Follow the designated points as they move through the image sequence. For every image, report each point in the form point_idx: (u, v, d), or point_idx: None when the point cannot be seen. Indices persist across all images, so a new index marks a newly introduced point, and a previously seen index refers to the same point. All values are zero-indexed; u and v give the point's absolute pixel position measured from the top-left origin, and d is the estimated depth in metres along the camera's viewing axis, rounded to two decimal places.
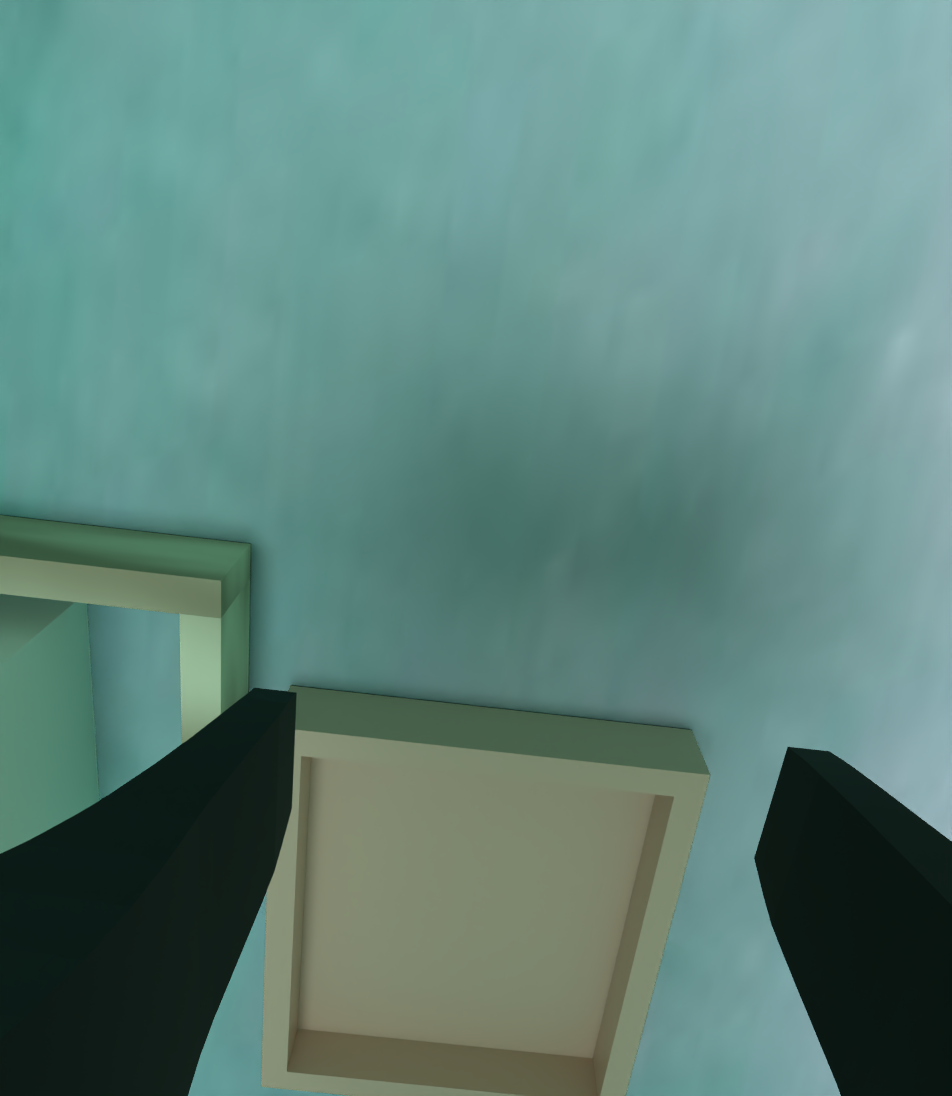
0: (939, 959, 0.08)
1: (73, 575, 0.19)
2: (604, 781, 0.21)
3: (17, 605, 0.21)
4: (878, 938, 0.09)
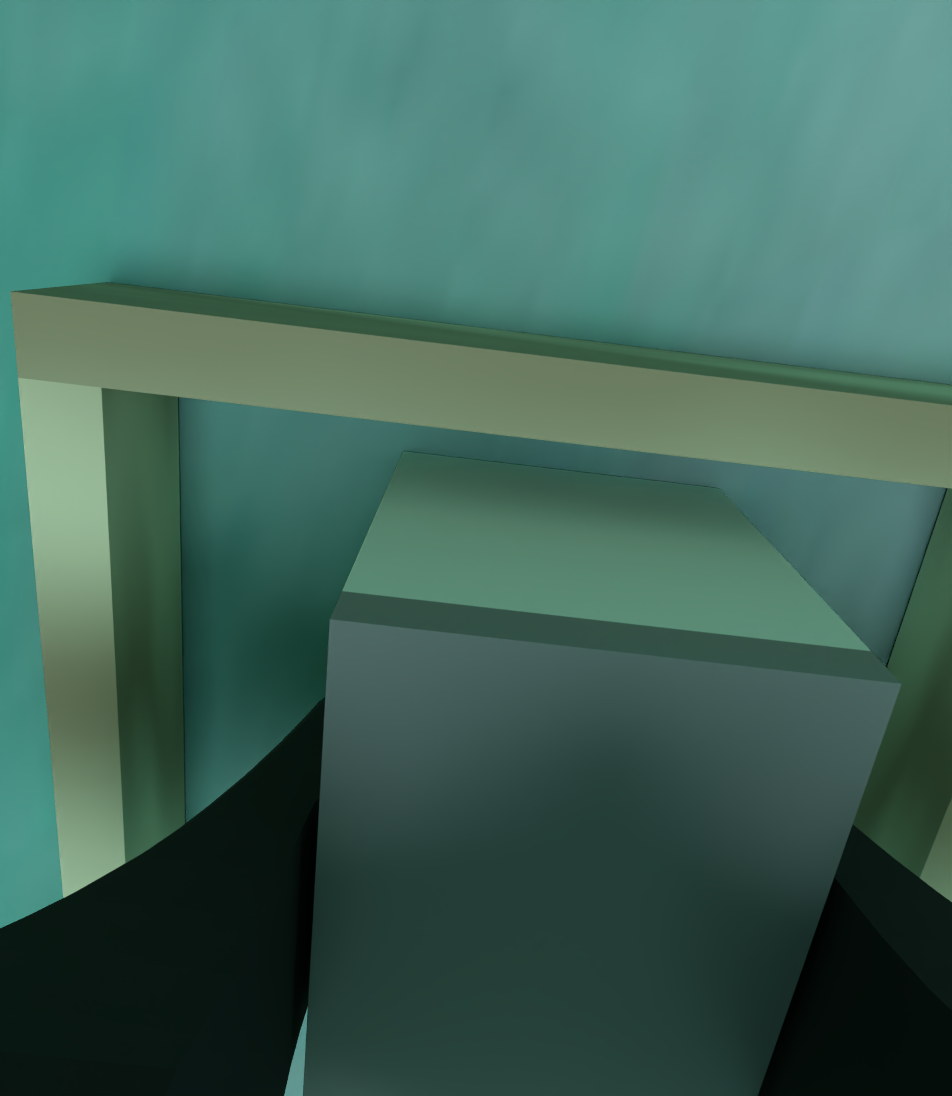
0: (836, 948, 0.08)
1: (888, 423, 0.10)
2: None
3: (656, 503, 0.11)
4: None
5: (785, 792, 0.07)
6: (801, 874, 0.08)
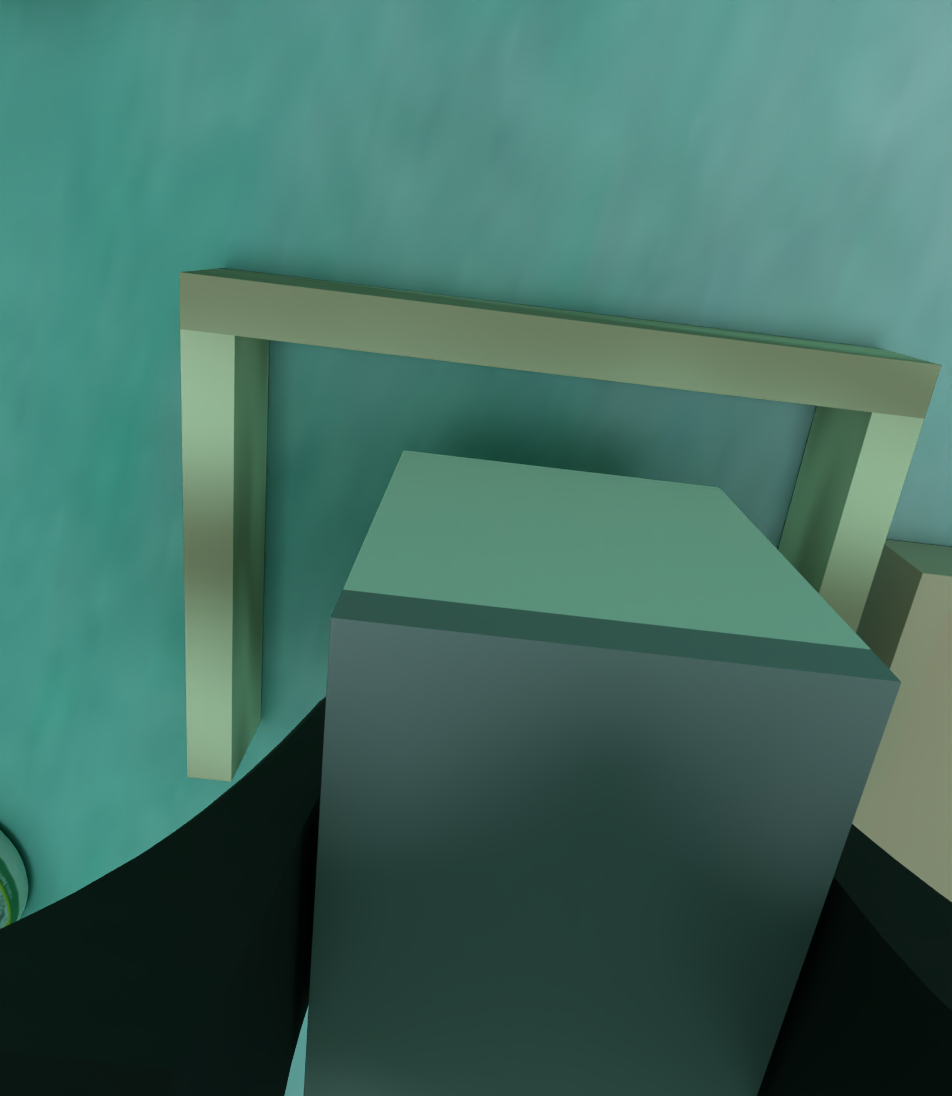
0: (836, 948, 0.08)
1: (750, 359, 0.15)
2: None
3: (657, 503, 0.11)
4: None
5: (785, 790, 0.07)
6: (801, 872, 0.08)
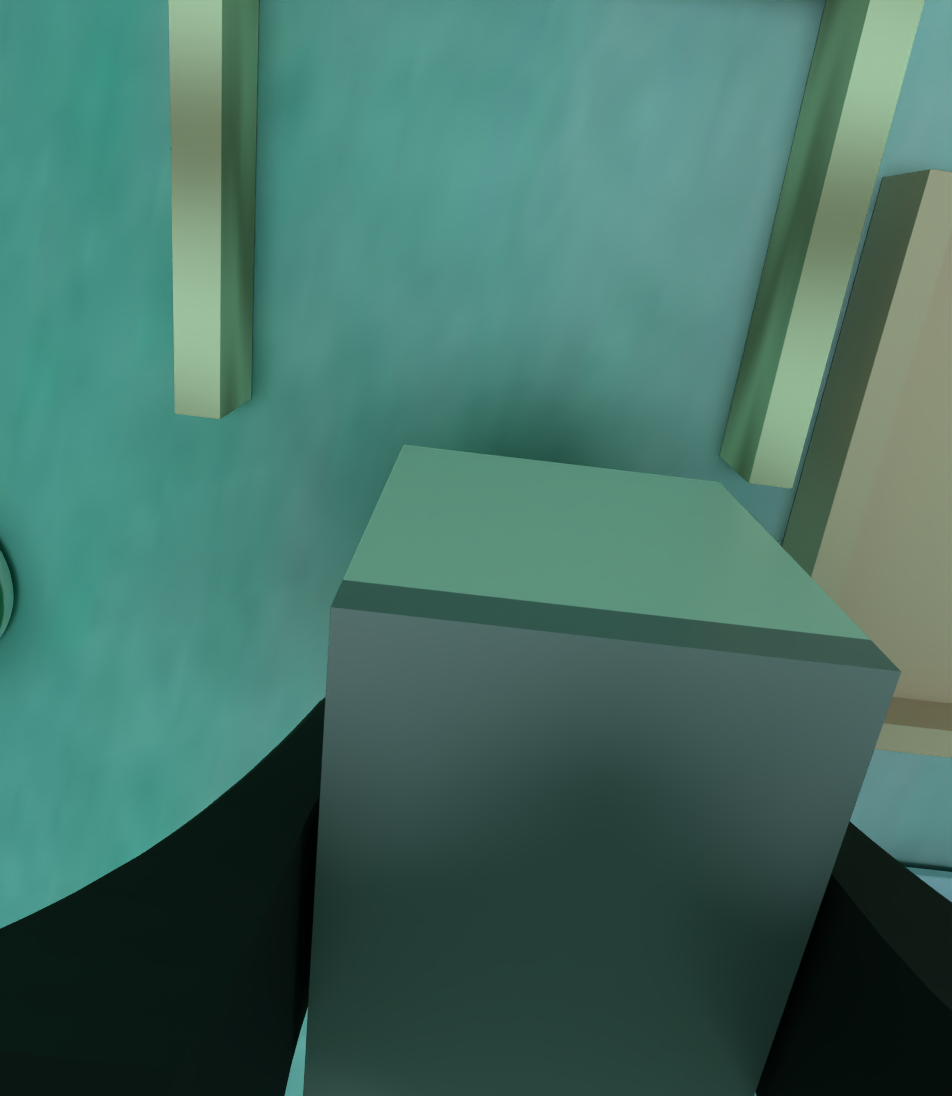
0: (836, 948, 0.08)
1: None
2: None
3: (657, 496, 0.11)
4: None
5: (785, 780, 0.07)
6: (801, 863, 0.08)
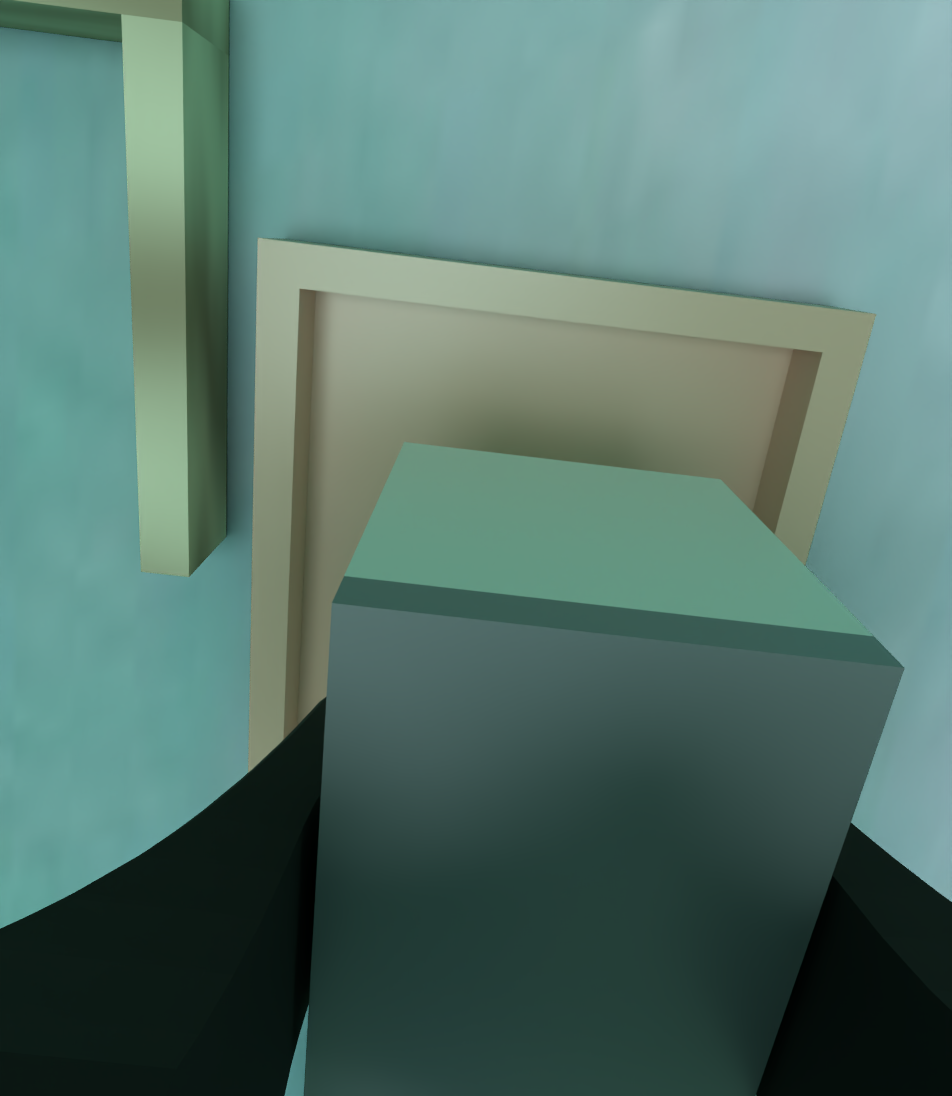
0: (836, 948, 0.08)
1: None
2: (725, 327, 0.15)
3: (658, 493, 0.11)
4: None
5: (788, 777, 0.07)
6: (803, 860, 0.08)
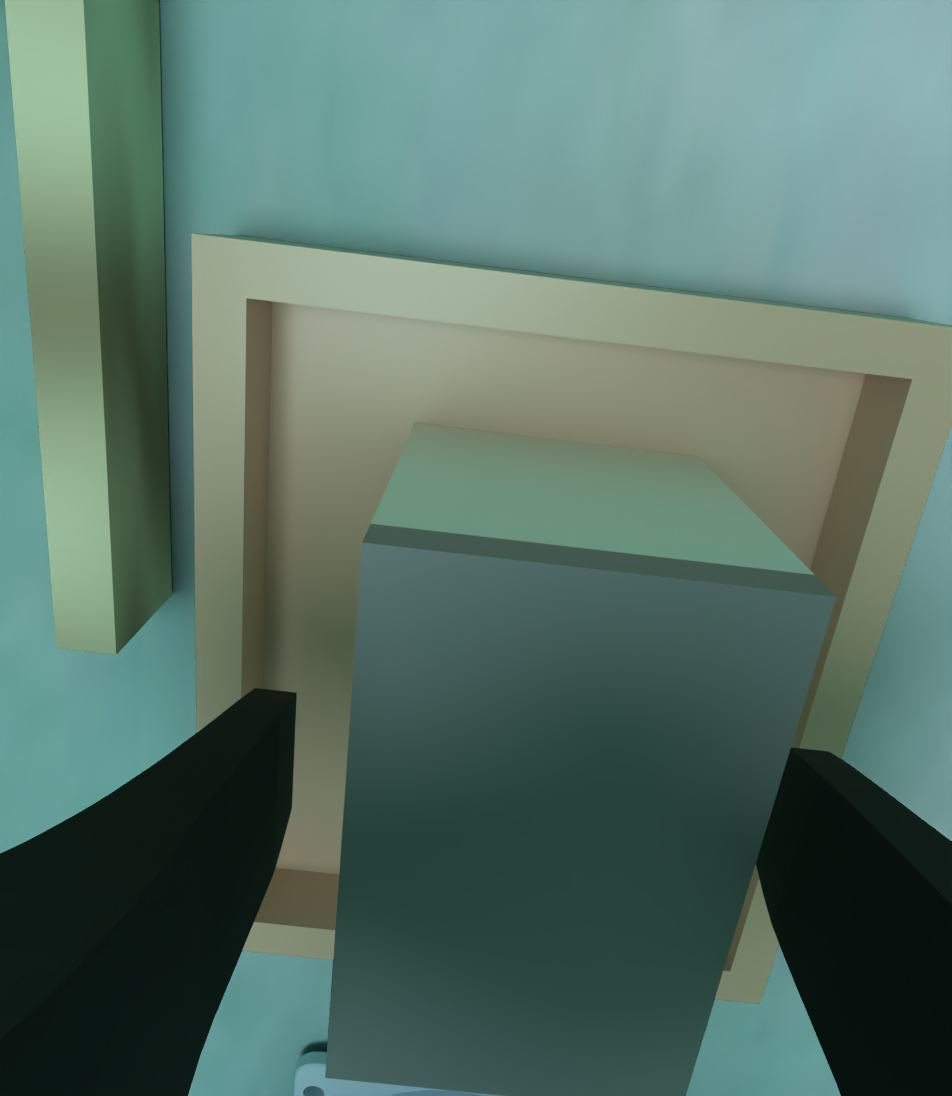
0: (939, 959, 0.08)
1: None
2: (789, 347, 0.12)
3: (641, 466, 0.13)
4: (877, 939, 0.09)
5: (742, 692, 0.09)
6: (757, 765, 0.09)
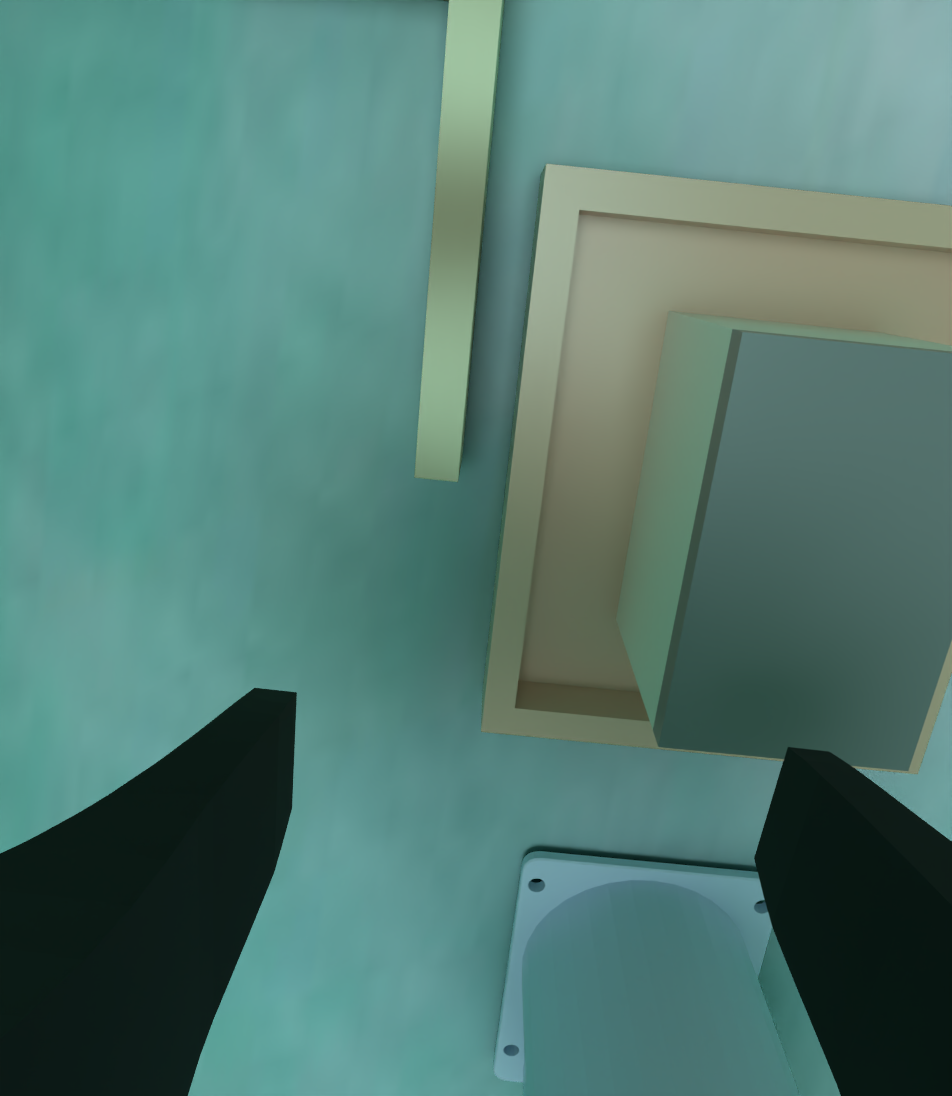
0: (939, 959, 0.08)
1: None
2: None
3: (850, 331, 0.18)
4: (877, 938, 0.09)
5: None
6: None
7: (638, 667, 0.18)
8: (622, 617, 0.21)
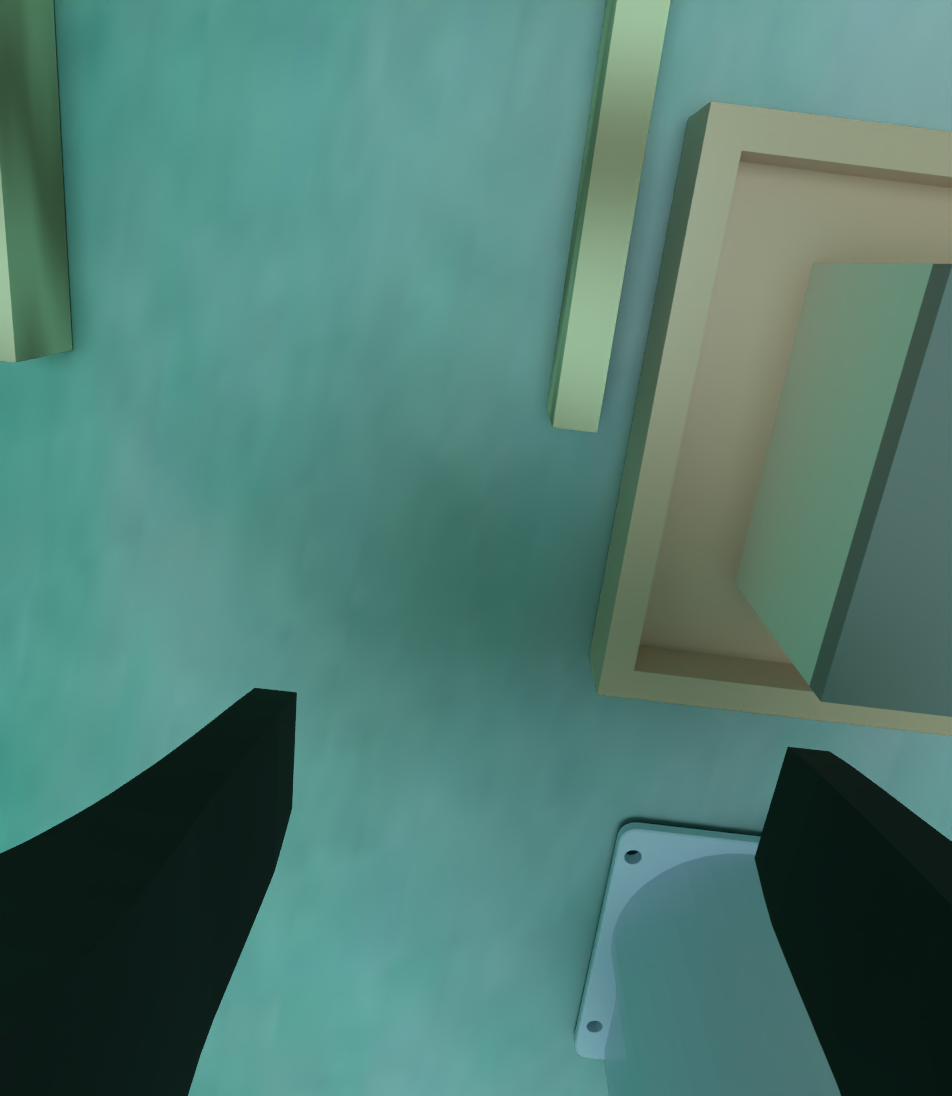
0: (939, 959, 0.08)
1: None
2: None
3: None
4: (877, 938, 0.09)
5: None
6: None
7: (779, 626, 0.18)
8: (746, 579, 0.20)
